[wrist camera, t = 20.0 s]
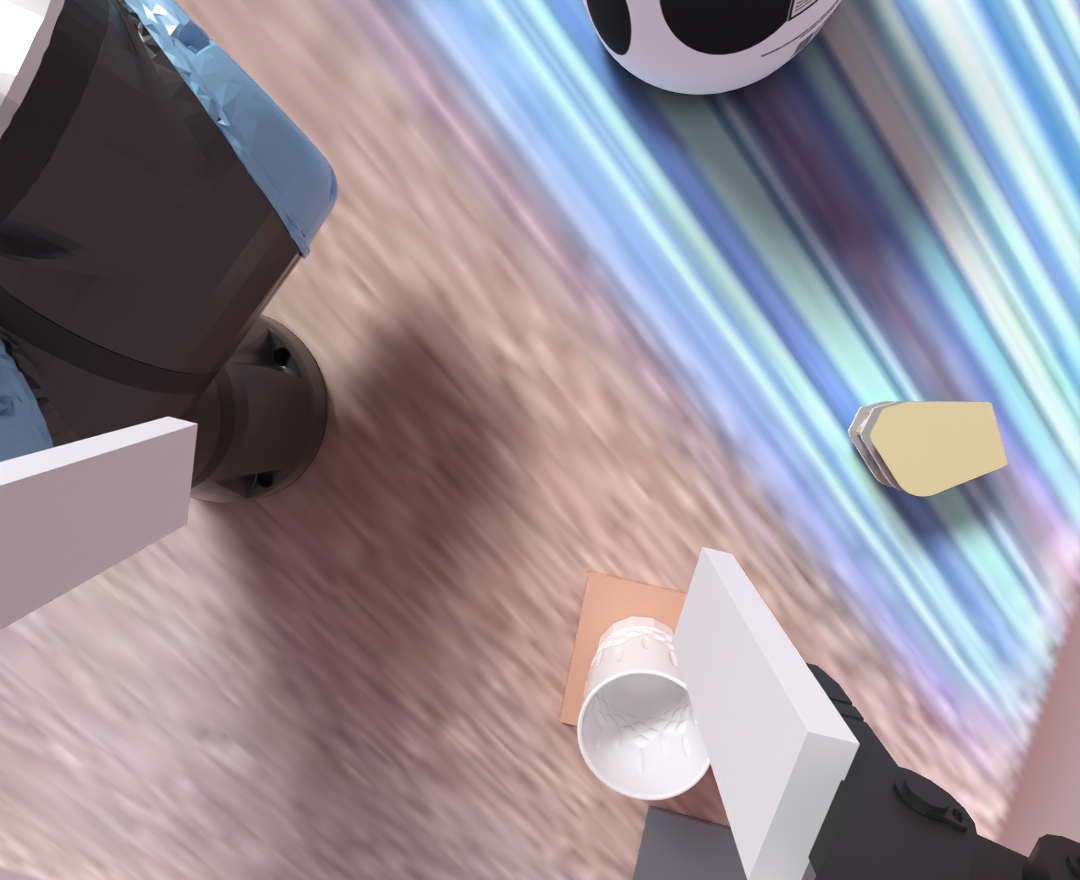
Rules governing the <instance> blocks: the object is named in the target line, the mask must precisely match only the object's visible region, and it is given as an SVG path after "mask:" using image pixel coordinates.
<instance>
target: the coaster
mask: <svg viewBox="0 0 1080 880" xmlns="http://www.w3.org/2000/svg"><path fill="white" fill-rule="evenodd" d="M687 594H688V593H683V592H679V591H674V590H670V589H665V588H661V587H657V586H652V585H648V584H643V583H639V582H634V581H630V580H626V579H621V578H617V577H612V576H608V575H604V574H599V573H595V572H590V571H589V575H588V580H587V585H586V590H585V595H584V600H583V605H582V610H581V615H580V620H579V625H578V630H577V635H576V640H575V645H574V650H573V655H572V660H571V665H570V670H569V675H568V680H567V685H566V690H565V695H564V700H563V705H562V710H561V715H560V720H559V722H563V723H567V724H570V725H574V726H578V719H579V714H580V710H581V705H582V701H583V696H584V691H585V687H586V682H587V678H588V675H589V671H590V668H591V664H592V660H593V658H594V656H595V654H596V650H597V647H598V643H599V640H600V637H601V636H602V635H603V634H604V633H605V632H606V631H607V630H608V628H609V627H610V626H611V625H612V624H613V623H615V622H618V621H620V620H623V619H626V618H629V617H631V616H637V617H649V618H654V619H656V620H658V621H660V622H661V623H663V624H665V625H667V626H669V627H670V628H672V630H673V631H674V632H675V630H676V627H677V624H678V621H679V618H680V615H681V612H682V609H683V606H684V603H685V600H686V597H687Z"/></svg>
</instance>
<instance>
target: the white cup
mask: <svg viewBox="0 0 1080 880" xmlns="http://www.w3.org/2000/svg"><path fill="white" fill-rule="evenodd" d="M674 633H675V632H674V631H673V630H672V628H670V627H669V626H667V625H665V624H663V623H661V622H660V621H658V620H656V619H654V618H649V617H637V616H631V617H629V618H626V619H623V620H620V621H618V622H615V623H613V624H612V625H611V626H610V627H609V628H608V630H607V631H606V632H605V633H604V634H603V635H602V636H601V637H600V640H599V643H598V647H597V650H596V654H595V656H594V658H593V660H592V664H591V668H590V671H589V675H588V678H587V682H586V687H585V691H584V696H583V701H582V705H581V710H580V714H579V719H578V726H577V734H578V742H579V746H580V750H581V753H582V755H583V758H584V760H585V762H586V763H587V765H588V767H589V768H590V769H591V771H592V772H593V773H594V774H595V776H596V777H597V778H598V779H599V780H600V781H601V782H603V783H604V784H605V785H606V786H608V787H609V788H611V789H612V790H614V791H616V792H618V793H620V794H622V795H625V796H628V797H631V798H635V799H640V800H663V799H668V798H671V797H674V796H677V795H679V794H682V793H684V792H685V791H687V790H689V789H690V788H691V787H693V786H694V785H695V784H696V783H697V782H698V781H699V780H700V779H701V778H702V777H703V775H704V774H705V773H706V771H707V769H708V768H709V766H710V760H709V757H708V754H707V751H706V748H705V745H704V741H703V738H702V735H701V732H700V729H699V726H698V722H697V719H696V716H695V713H694V710H693V707H692V704H691V700H690V697H689V694H688V691H687V688H686V685H685V681H684V678H683V675H682V672H681V669H680V666H679V662H678V659H677V656H676V653H675V650H674V647H673V644H672V639H673V636H674Z"/></svg>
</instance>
